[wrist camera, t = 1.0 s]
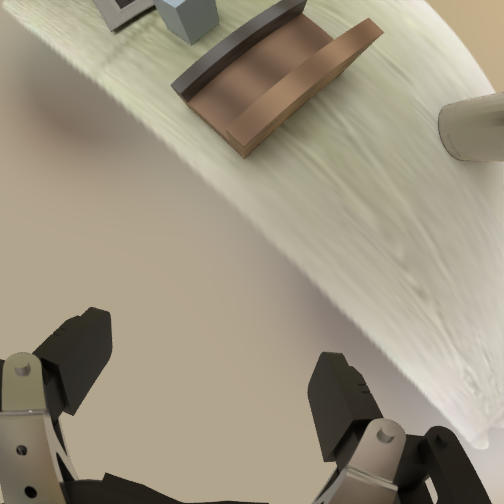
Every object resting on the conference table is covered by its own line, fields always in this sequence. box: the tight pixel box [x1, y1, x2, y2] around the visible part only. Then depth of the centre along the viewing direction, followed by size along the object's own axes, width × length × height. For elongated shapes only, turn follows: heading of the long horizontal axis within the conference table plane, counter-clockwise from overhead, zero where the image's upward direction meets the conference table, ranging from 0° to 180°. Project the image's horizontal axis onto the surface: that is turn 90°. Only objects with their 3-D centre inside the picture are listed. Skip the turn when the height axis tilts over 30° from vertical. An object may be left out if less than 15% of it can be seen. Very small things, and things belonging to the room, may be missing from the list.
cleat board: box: [170, 0, 384, 158], centre depth 24 cm, size 18×10×13 cm, turn 135°
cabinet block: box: [152, 0, 219, 45], centre depth 23 cm, size 5×6×10 cm
